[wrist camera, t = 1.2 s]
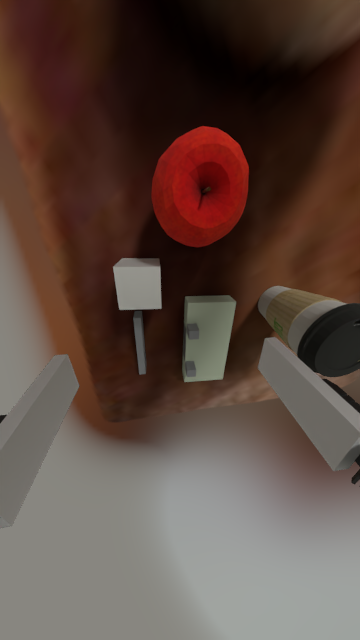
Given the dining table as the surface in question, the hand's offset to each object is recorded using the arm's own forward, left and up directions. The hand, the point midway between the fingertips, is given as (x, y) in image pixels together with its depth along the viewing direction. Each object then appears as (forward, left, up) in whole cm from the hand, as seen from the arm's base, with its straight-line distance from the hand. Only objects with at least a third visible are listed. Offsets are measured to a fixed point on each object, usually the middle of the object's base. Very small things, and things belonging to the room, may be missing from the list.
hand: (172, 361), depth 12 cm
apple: (-11, +4, -20) cm, 23 cm away
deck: (+11, +3, -20) cm, 23 cm away
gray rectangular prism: (-1, -3, -20) cm, 20 cm away
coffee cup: (+4, +21, -20) cm, 29 cm away
